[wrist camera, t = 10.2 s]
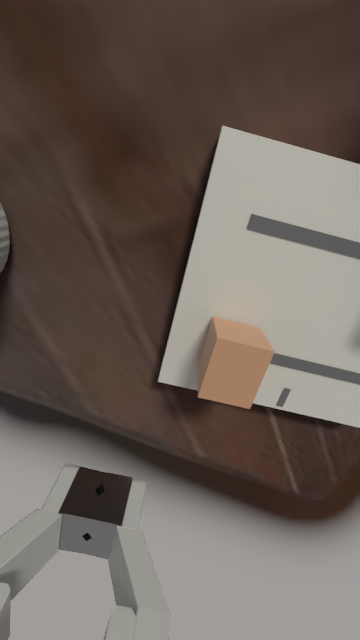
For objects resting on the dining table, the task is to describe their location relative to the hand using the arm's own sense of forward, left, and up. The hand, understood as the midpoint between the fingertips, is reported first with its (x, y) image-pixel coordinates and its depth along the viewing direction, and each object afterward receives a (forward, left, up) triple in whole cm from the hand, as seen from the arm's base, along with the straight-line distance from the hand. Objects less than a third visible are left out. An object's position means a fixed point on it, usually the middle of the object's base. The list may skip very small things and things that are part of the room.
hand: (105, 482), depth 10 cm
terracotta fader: (+6, 0, -13) cm, 15 cm away
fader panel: (+11, +5, -16) cm, 20 cm away
